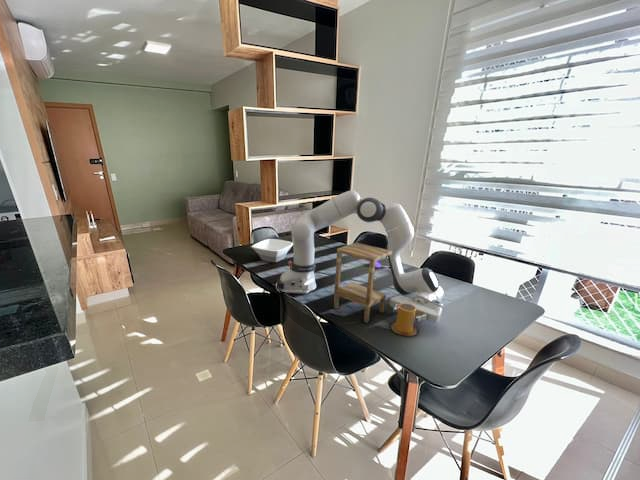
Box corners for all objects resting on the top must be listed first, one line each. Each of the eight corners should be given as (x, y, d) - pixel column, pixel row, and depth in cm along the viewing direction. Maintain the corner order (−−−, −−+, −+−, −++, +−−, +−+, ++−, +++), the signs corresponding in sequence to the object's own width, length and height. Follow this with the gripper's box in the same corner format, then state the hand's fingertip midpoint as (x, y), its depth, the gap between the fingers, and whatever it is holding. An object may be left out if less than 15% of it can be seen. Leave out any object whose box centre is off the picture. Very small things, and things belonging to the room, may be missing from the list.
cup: (399, 333, 116) (403, 311, 112) (392, 324, 122) (395, 303, 118) (415, 332, 116) (419, 310, 112) (407, 323, 122) (411, 302, 119)
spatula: (406, 273, 174) (407, 269, 173) (400, 276, 170) (401, 272, 169) (373, 262, 191) (373, 259, 191) (366, 265, 188) (367, 261, 187)
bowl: (296, 256, 207) (296, 242, 203) (277, 267, 187) (277, 252, 183) (269, 250, 219) (268, 237, 215) (248, 260, 199) (247, 246, 196)
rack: (366, 323, 124) (373, 258, 113) (333, 307, 137) (337, 248, 125) (383, 311, 133) (391, 250, 122) (351, 298, 145) (355, 242, 134)
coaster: (397, 336, 114) (397, 336, 114) (386, 323, 124) (386, 322, 123) (421, 335, 115) (421, 334, 115) (409, 322, 124) (409, 321, 124)
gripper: (399, 289, 131) (383, 299, 123) (447, 305, 117) (432, 317, 108) (397, 301, 133) (381, 312, 125) (444, 318, 119) (429, 331, 111)
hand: (405, 314), depth 116 cm, fingers open, 8 cm apart
